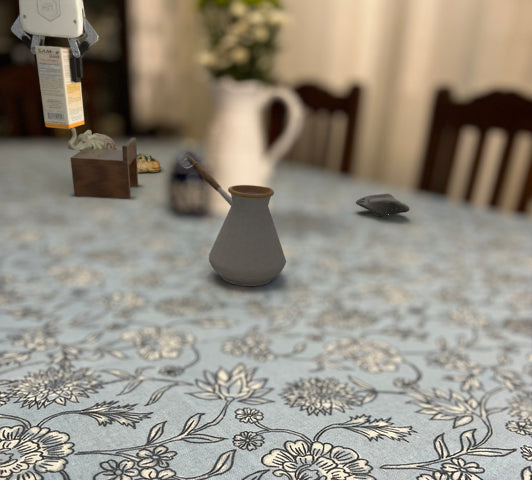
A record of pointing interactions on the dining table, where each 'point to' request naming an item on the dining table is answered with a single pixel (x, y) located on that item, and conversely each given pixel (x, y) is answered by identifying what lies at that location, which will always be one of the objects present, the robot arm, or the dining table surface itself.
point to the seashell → (382, 205)
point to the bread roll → (147, 163)
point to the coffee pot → (245, 235)
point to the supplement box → (59, 88)
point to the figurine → (90, 141)
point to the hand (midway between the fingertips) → (60, 79)
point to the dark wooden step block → (105, 171)
